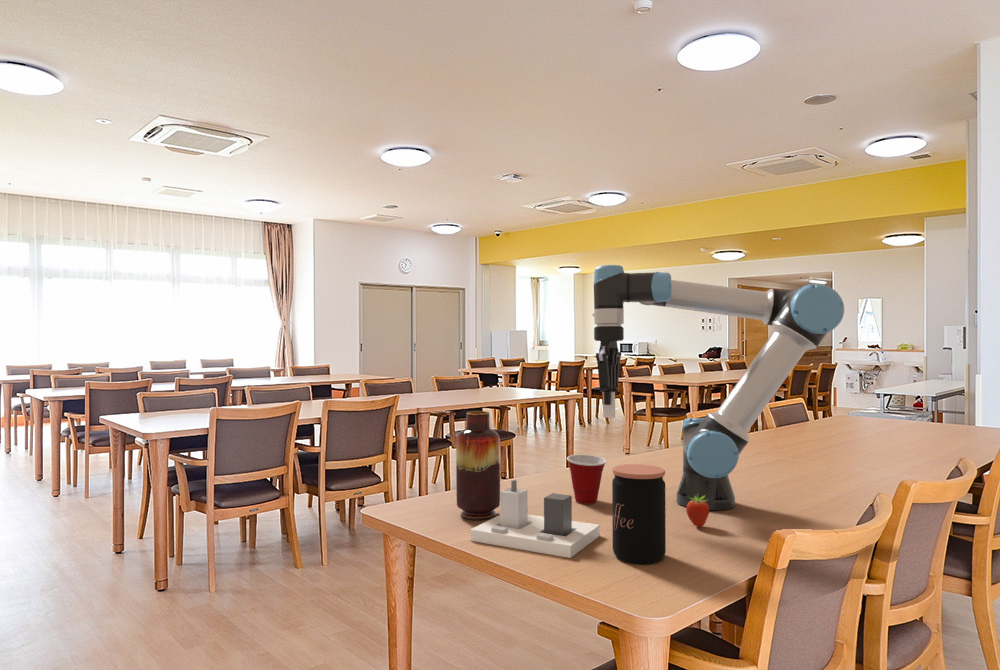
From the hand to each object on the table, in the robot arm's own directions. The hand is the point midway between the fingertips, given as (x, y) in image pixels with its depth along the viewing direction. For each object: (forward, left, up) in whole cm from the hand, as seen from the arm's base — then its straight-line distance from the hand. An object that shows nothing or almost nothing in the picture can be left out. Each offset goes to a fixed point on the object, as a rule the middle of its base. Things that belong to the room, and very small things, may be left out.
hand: (609, 417), depth 170 cm
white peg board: (+7, +29, -24) cm, 39 cm away
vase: (+28, +19, -25) cm, 42 cm away
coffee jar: (-17, +30, -25) cm, 42 cm away
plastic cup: (+9, -7, -25) cm, 27 cm away
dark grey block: (+2, +29, -24) cm, 38 cm away
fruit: (-23, +3, -25) cm, 34 cm away
